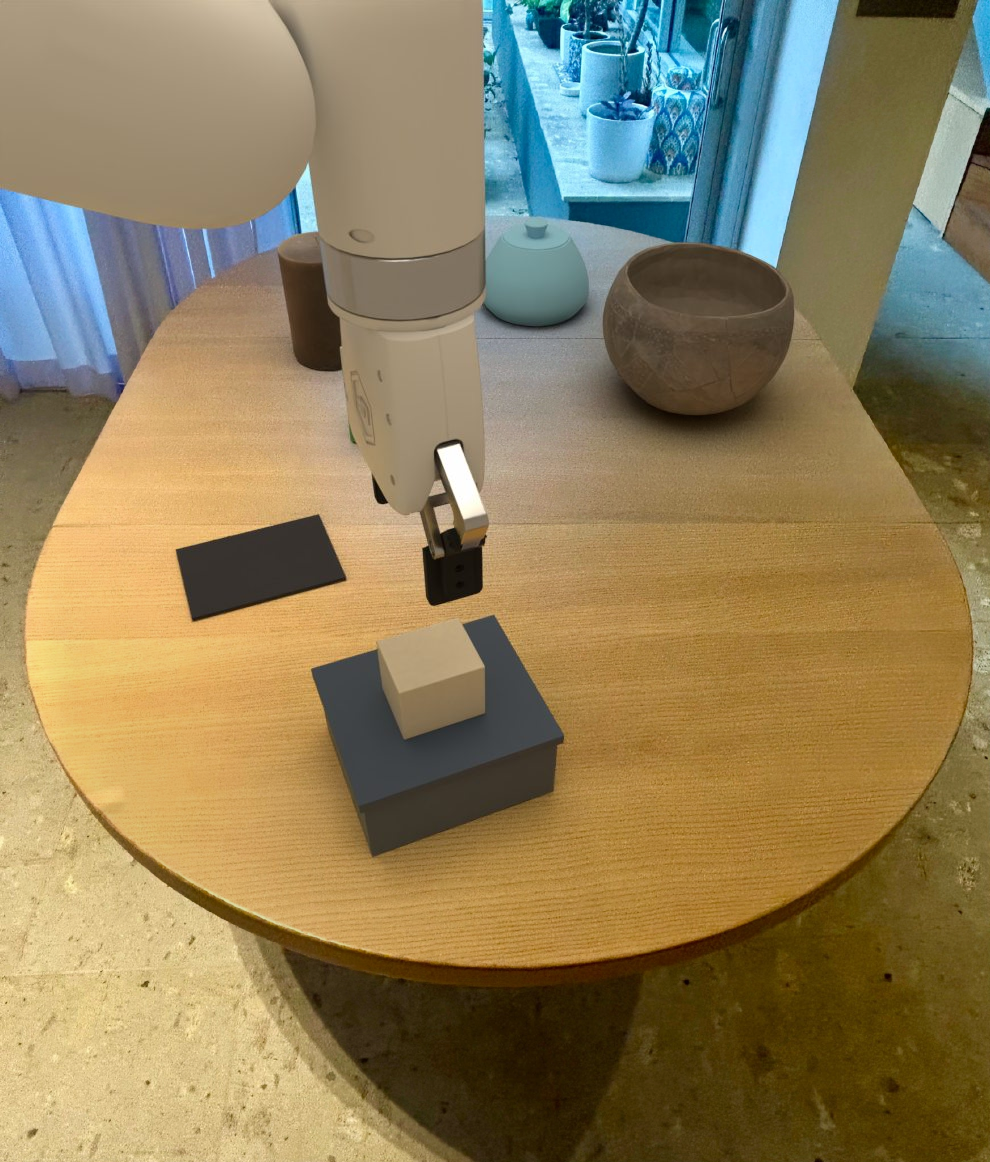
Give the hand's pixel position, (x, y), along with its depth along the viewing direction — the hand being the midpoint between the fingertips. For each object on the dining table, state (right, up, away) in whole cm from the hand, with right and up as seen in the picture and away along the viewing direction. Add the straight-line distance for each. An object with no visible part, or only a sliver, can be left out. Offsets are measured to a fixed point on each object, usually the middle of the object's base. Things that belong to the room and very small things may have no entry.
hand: (425, 543), depth 53 cm
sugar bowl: (+9, +36, +70) cm, 79 cm away
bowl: (+27, +20, +53) cm, 63 cm away
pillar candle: (-17, +27, +60) cm, 68 cm away
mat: (-18, -1, +31) cm, 36 cm away
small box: (0, -11, +10) cm, 15 cm away
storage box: (0, -16, +15) cm, 22 cm away
